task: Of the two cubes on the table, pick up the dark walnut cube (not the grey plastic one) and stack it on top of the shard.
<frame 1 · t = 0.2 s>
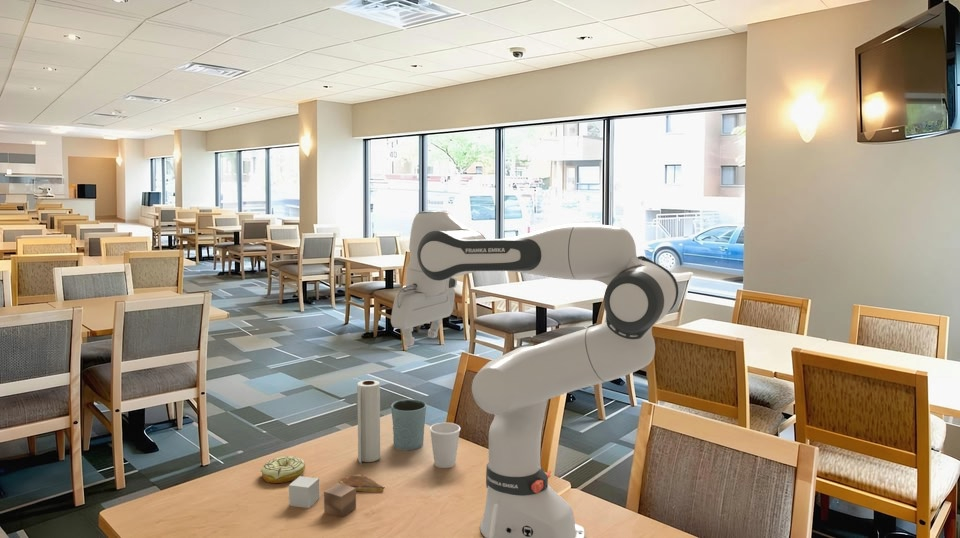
hand: (420, 341, 145), 39 cm above the table, tool pointing down, fingers open, 8 cm apart
paper towel roll: (367, 459, 175), on the table
shard: (362, 487, 159), on the table
dixie cup: (444, 464, 172), on the table
decorated donut: (283, 476, 164), on the table
teal plant pot: (408, 445, 185), on the table
walnut cube: (340, 510, 146), on the table
grey cube: (304, 502, 150), on the table
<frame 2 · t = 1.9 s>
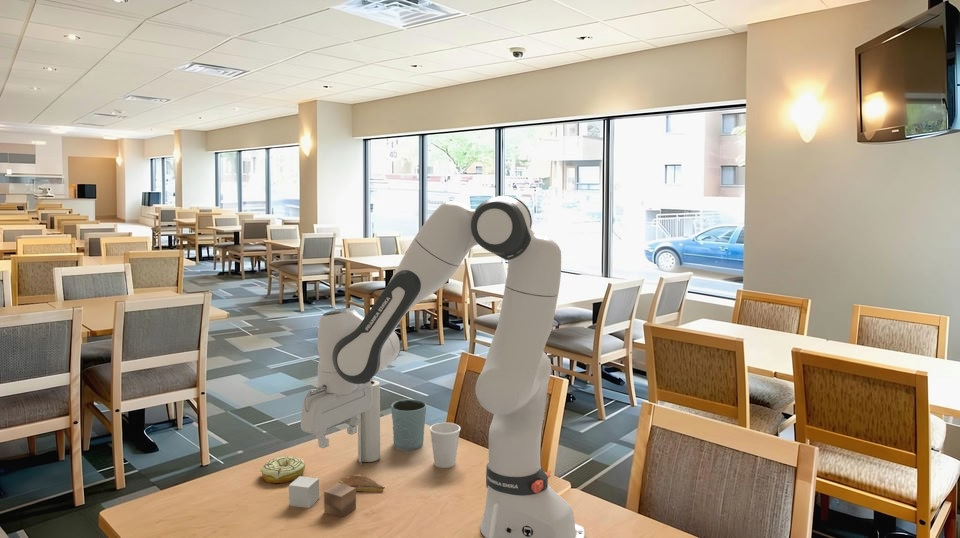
hand: (338, 440, 144), 17 cm above the table, tool pointing down, fingers open, 8 cm apart
nothing on the table moved.
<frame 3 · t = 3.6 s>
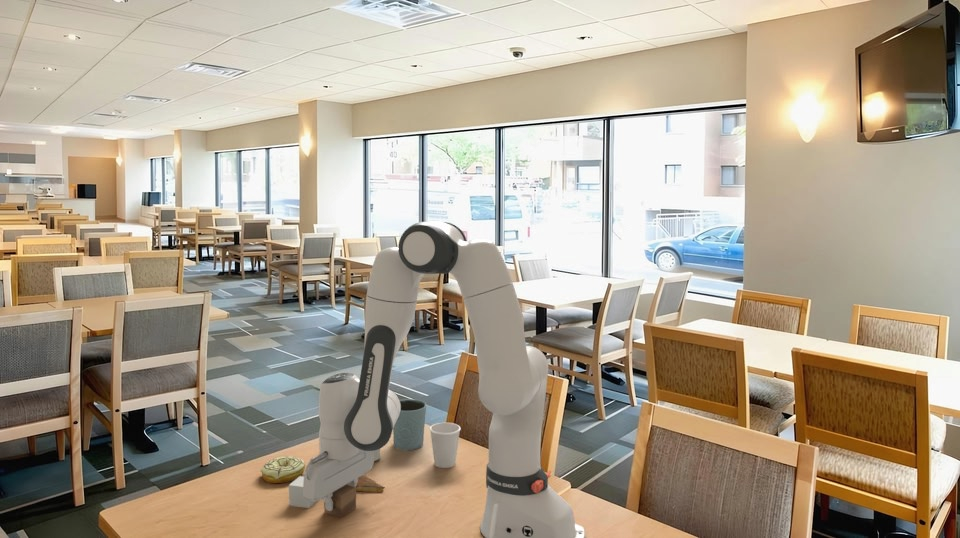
hand: (340, 503, 146), 2 cm above the table, tool pointing down, fingers closed on walnut cube, 5 cm apart
walnut cube: (340, 510, 146), on the table, touching gripper
everything else where it was.
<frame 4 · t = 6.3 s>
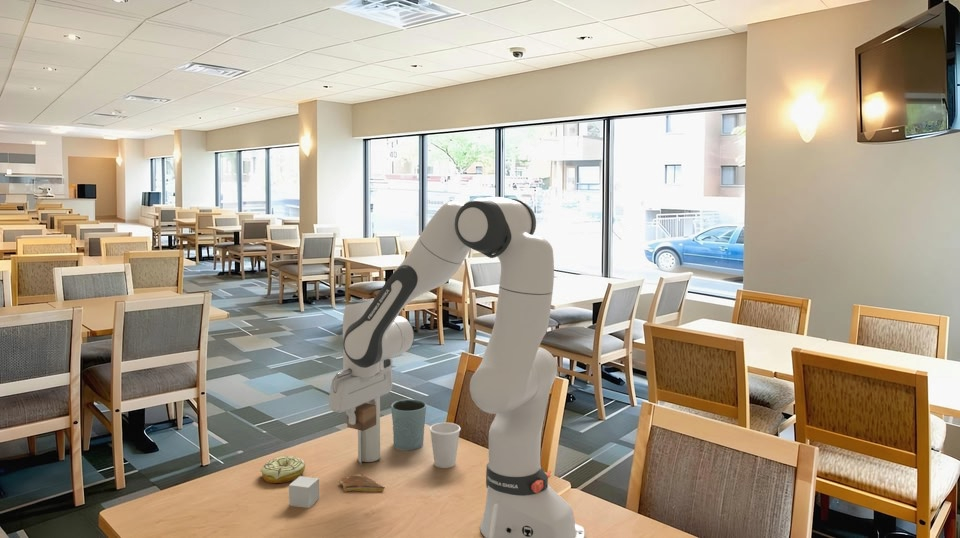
hand: (362, 419, 157), 17 cm above the table, tool pointing down, fingers closed on walnut cube, 5 cm apart
walnut cube: (361, 425, 158), point 15 cm above the table, touching gripper
everything else where it was.
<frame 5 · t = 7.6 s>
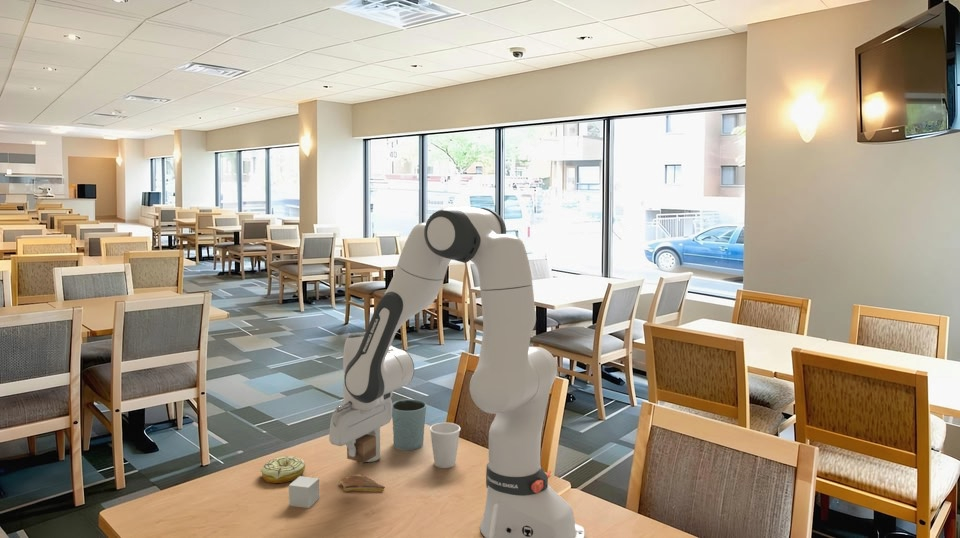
hand: (361, 450, 158), 9 cm above the table, tool pointing down, fingers closed on walnut cube, 5 cm apart
walnut cube: (361, 457, 159), point 7 cm above the table, touching gripper
everything else where it was.
when the fingers open (5 cm above the table, at t = 8.7 s): walnut cube drops 2 cm, resting on shard.
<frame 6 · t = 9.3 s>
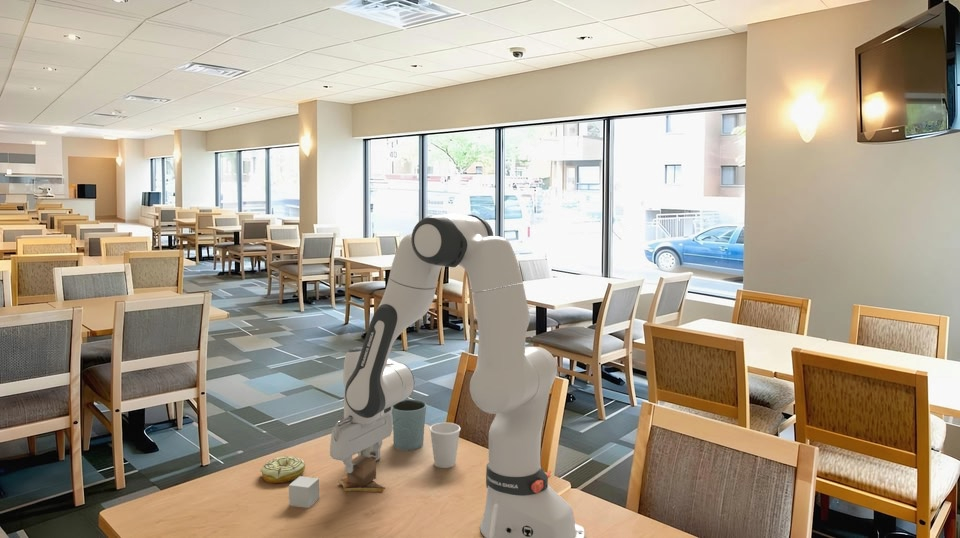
hand: (362, 464, 159), 5 cm above the table, tool pointing down, fingers open, 8 cm apart
shard: (363, 487, 159), on the table, touching walnut cube
walnut cube: (361, 480, 159), point 1 cm above the table, touching shard
everything else where it was.
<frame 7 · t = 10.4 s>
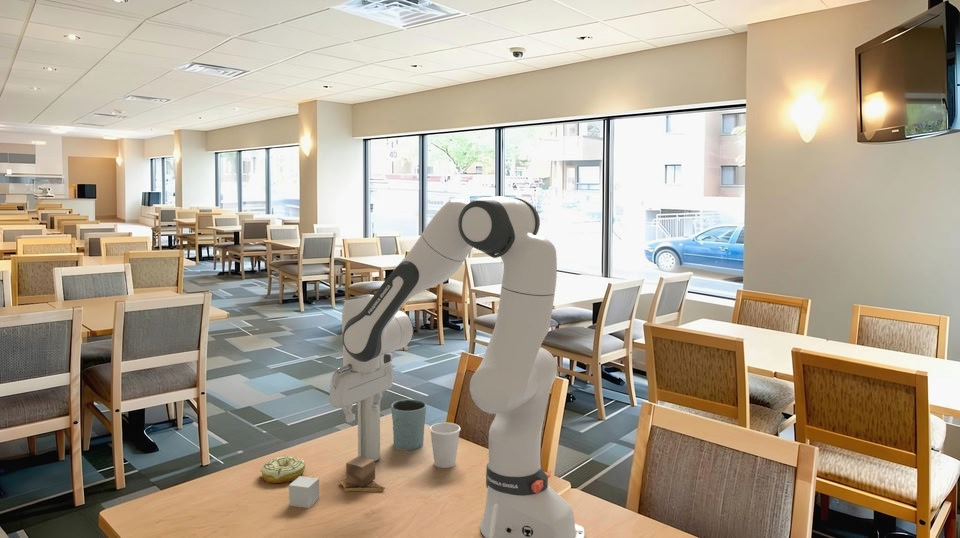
hand: (363, 415, 157), 18 cm above the table, tool pointing down, fingers open, 8 cm apart
nothing on the table moved.
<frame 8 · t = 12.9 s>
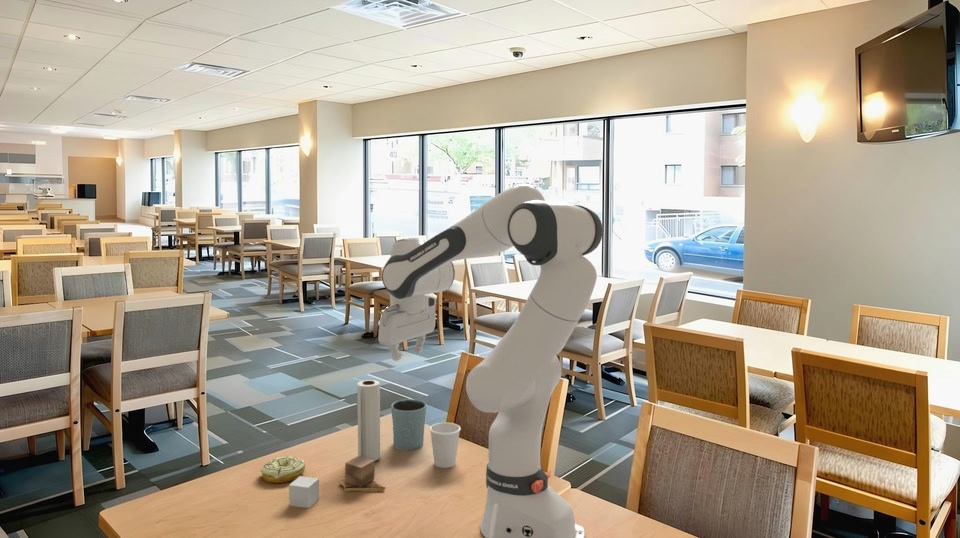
hand: (407, 355, 163), 31 cm above the table, tool pointing down, fingers open, 8 cm apart
nothing on the table moved.
at the end: walnut cube inside the target area on the shard (1.0 cm from its centre), point 2.1 cm above the shard's base; walnut cube touching shard; the gripper is holding nothing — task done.
